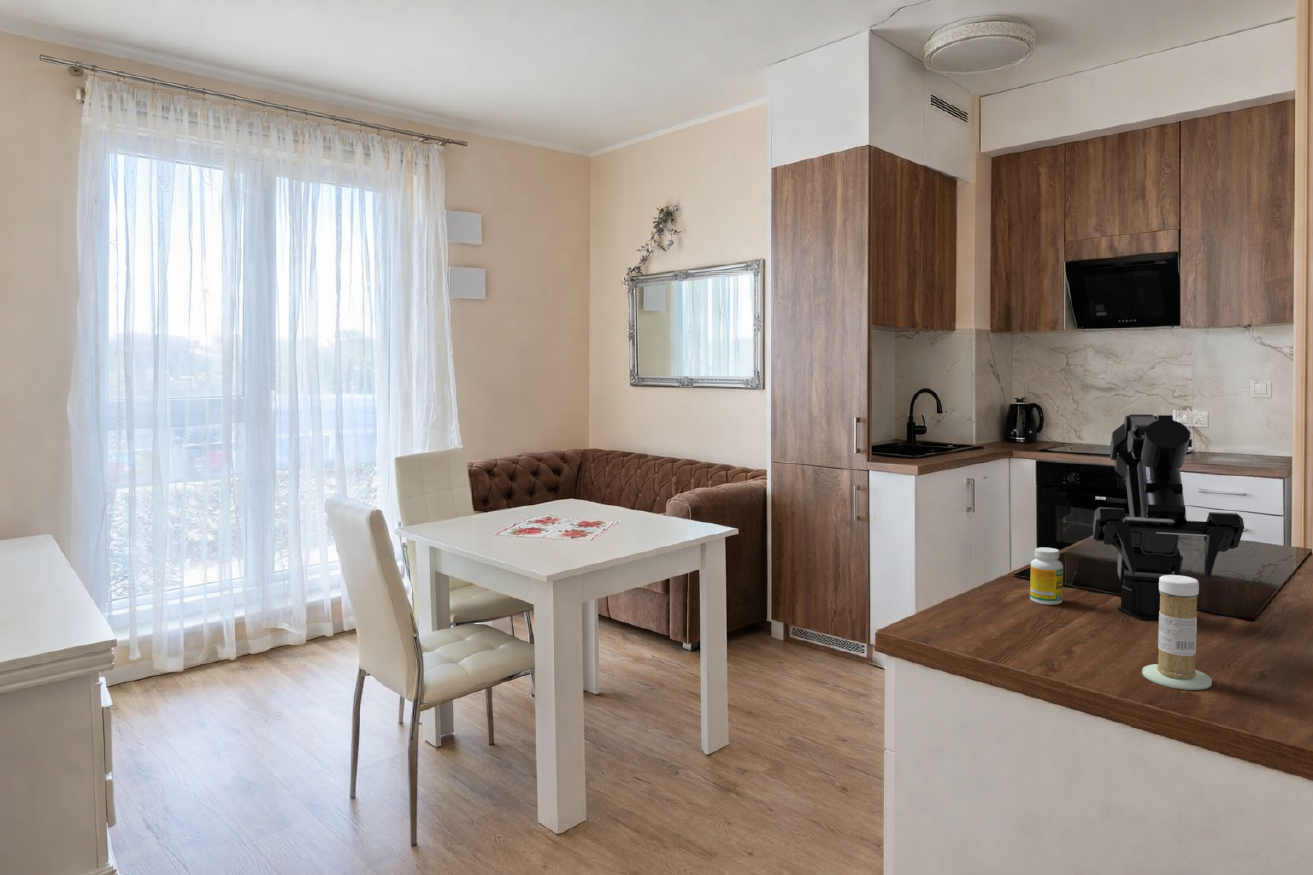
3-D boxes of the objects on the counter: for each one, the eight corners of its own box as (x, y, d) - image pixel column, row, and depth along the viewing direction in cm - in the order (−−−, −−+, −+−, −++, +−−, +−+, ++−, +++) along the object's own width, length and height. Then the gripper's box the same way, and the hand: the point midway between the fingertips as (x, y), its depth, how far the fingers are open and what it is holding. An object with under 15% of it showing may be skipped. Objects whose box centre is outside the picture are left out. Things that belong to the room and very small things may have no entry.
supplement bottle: (1032, 595, 151) (1033, 545, 150) (1064, 599, 148) (1065, 548, 147) (1027, 602, 147) (1028, 551, 146) (1060, 606, 144) (1061, 554, 143)
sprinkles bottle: (1191, 670, 112) (1194, 575, 111) (1199, 681, 108) (1203, 583, 107) (1153, 666, 114) (1156, 572, 113) (1160, 677, 109) (1163, 580, 108)
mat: (1181, 665, 115) (1182, 662, 115) (1226, 687, 107) (1226, 684, 107) (1129, 669, 114) (1129, 665, 114) (1170, 691, 106) (1170, 687, 106)
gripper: (1223, 522, 127) (1237, 610, 118) (1089, 516, 135) (1092, 597, 126) (1236, 479, 119) (1253, 569, 110) (1094, 475, 127) (1098, 559, 118)
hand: (1170, 575), depth 116 cm, fingers open, 9 cm apart
